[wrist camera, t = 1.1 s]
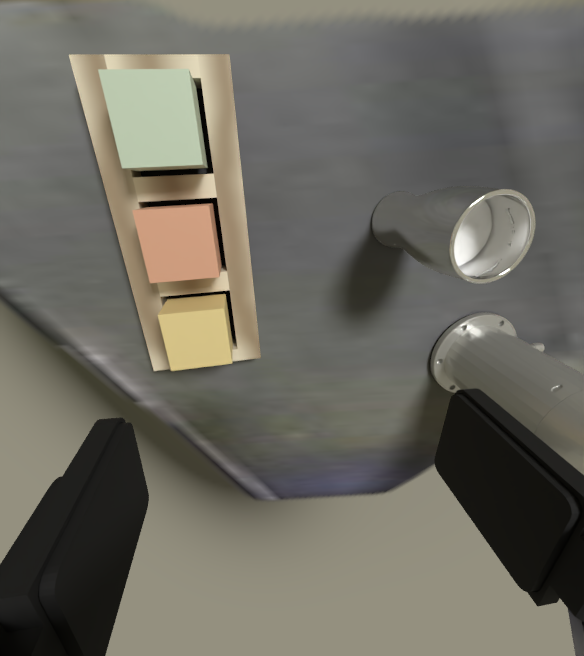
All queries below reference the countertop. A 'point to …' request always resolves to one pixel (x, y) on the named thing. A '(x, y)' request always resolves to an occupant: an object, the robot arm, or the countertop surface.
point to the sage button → (154, 118)
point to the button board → (177, 194)
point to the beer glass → (459, 229)
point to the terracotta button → (179, 242)
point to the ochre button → (196, 331)
